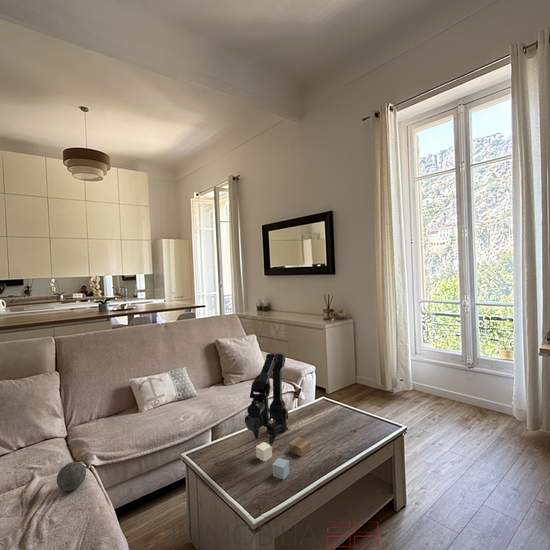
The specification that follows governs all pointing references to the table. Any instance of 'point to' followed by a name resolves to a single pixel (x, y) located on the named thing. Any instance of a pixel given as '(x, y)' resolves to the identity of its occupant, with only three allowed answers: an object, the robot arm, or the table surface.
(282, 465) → the slate cube
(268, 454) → the cream cube
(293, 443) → the brown wooden block
